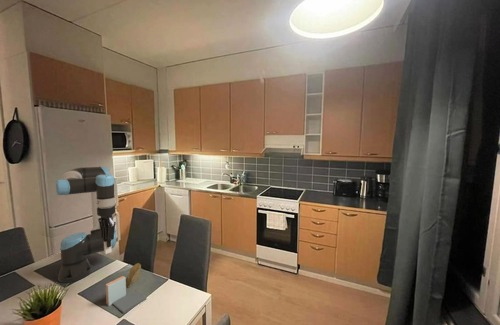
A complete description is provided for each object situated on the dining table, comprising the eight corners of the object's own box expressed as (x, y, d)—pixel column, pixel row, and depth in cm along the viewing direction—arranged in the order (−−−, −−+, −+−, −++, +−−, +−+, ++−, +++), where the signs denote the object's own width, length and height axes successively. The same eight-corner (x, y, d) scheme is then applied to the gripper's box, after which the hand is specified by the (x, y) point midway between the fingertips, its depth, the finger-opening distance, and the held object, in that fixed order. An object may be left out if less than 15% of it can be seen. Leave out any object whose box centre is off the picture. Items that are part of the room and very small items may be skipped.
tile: (106, 304, 104) (105, 284, 103) (123, 294, 110) (123, 275, 109) (108, 306, 102) (108, 286, 101) (126, 296, 109) (125, 277, 108)
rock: (128, 287, 112) (146, 275, 120) (121, 272, 114) (139, 261, 122) (122, 291, 119) (140, 280, 127) (116, 277, 120) (134, 266, 128)
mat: (112, 304, 103) (112, 302, 103) (135, 291, 113) (135, 290, 112) (123, 313, 98) (123, 311, 98) (146, 299, 107) (146, 297, 107)
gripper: (91, 205, 107) (93, 252, 109) (104, 210, 100) (106, 259, 102) (108, 202, 113) (109, 246, 115) (121, 206, 106) (122, 253, 108)
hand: (108, 252), depth 108 cm, fingers closed
